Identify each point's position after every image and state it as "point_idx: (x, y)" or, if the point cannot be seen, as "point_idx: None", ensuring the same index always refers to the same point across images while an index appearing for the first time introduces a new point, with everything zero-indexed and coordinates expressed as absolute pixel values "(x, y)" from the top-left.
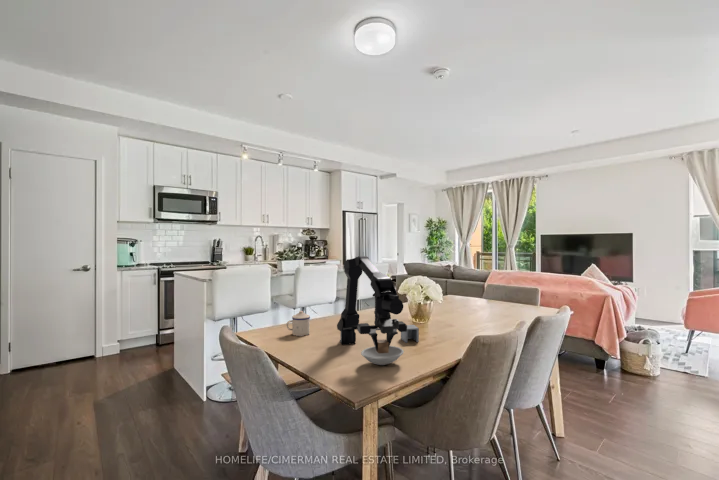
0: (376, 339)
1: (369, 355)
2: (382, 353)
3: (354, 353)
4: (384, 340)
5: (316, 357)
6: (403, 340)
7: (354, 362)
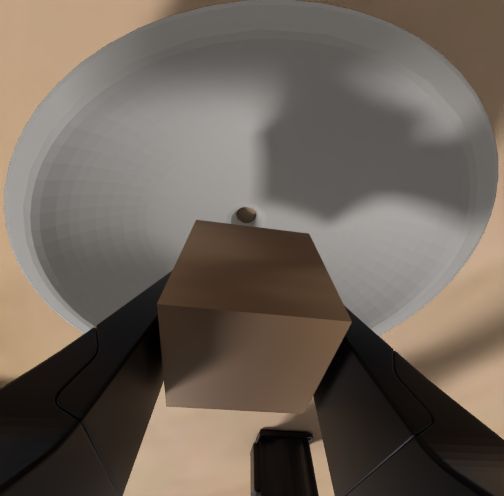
0: (405, 400)
1: None
2: None
3: None
4: (196, 382)
5: (482, 373)
6: None
7: None
